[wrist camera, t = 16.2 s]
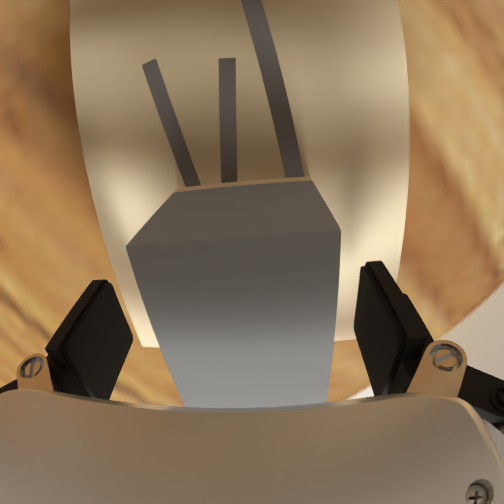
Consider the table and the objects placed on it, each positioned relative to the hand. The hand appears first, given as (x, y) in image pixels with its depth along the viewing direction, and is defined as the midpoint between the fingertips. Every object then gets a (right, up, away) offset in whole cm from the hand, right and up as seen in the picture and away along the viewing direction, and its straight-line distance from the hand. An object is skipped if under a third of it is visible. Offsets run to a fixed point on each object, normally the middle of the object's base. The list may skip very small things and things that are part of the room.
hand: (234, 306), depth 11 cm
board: (0, +7, +1) cm, 7 cm away
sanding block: (+1, +1, +2) cm, 2 cm away
